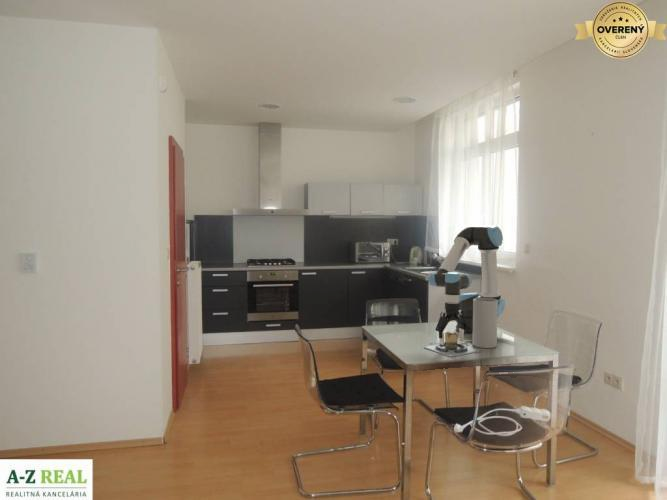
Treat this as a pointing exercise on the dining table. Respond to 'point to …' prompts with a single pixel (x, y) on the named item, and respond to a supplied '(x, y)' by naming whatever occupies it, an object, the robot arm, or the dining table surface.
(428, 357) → the dining table surface
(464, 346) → the piston ring
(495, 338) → the cylinder vase
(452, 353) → the ring plate
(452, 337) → the piston
